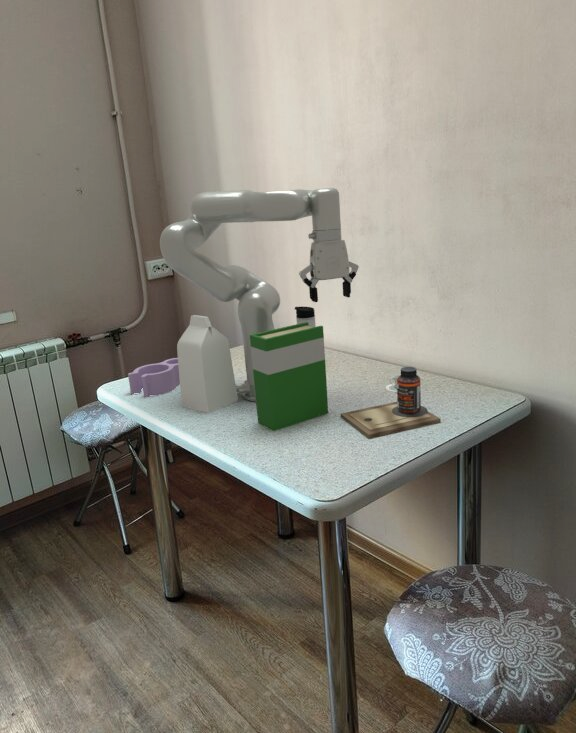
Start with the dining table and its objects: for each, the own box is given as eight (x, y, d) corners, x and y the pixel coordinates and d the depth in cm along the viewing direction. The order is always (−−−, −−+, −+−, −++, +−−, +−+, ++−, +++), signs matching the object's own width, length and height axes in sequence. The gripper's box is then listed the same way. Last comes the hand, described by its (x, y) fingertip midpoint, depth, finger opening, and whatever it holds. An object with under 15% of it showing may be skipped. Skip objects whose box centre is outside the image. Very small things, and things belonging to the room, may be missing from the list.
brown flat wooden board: (368, 438, 147) (368, 433, 147) (340, 417, 162) (340, 412, 161) (442, 421, 153) (442, 416, 153) (408, 402, 168) (408, 398, 168)
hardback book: (312, 406, 171) (306, 322, 164) (328, 413, 165) (323, 326, 158) (258, 423, 162) (249, 334, 155) (273, 431, 156) (265, 339, 149)
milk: (181, 405, 180) (169, 318, 172) (211, 393, 188) (201, 310, 180) (208, 413, 172) (197, 322, 165) (238, 400, 180) (228, 313, 173)
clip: (173, 375, 210) (170, 356, 208) (198, 380, 202) (196, 360, 200) (125, 393, 195) (122, 373, 193) (151, 399, 187) (147, 378, 185)
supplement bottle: (395, 413, 157) (394, 371, 154) (399, 405, 163) (398, 364, 159) (418, 415, 155) (418, 372, 152) (422, 406, 161) (422, 365, 157)
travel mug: (299, 361, 214) (295, 305, 208) (318, 361, 213) (315, 304, 207) (297, 367, 208) (293, 309, 202) (317, 366, 207) (313, 308, 201)
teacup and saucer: (418, 385, 182) (418, 372, 181) (411, 394, 175) (411, 381, 174) (390, 383, 186) (389, 370, 184) (382, 392, 179) (381, 379, 178)
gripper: (302, 240, 159) (306, 305, 164) (362, 233, 164) (365, 296, 169) (292, 238, 166) (296, 301, 171) (350, 232, 171) (353, 293, 176)
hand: (330, 299), depth 170 cm, fingers open, 9 cm apart
